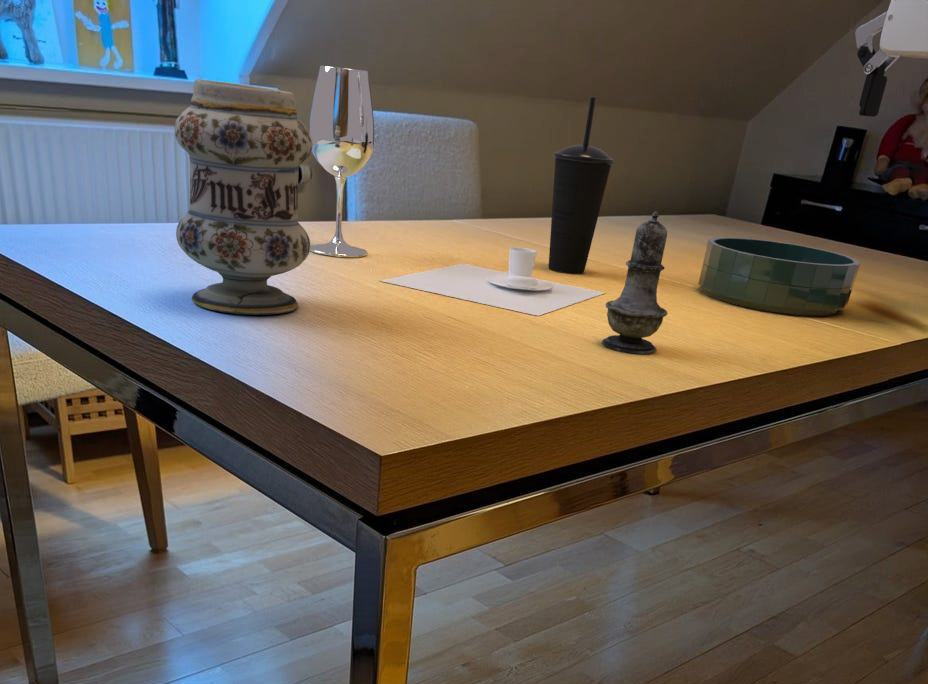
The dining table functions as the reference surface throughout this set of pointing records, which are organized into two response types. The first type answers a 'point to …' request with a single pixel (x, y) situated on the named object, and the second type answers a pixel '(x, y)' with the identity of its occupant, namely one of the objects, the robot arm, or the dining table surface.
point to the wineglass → (341, 138)
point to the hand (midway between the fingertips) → (908, 119)
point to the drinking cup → (577, 201)
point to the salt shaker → (639, 293)
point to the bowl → (777, 276)
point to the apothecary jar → (243, 193)
